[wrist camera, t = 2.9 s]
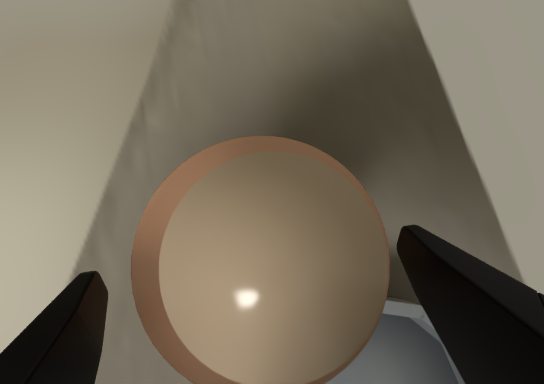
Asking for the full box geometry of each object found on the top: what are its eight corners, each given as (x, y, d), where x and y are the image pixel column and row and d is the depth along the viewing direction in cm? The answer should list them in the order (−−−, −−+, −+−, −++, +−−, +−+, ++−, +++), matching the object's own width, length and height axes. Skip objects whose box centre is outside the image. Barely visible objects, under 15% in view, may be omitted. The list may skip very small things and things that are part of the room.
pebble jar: (321, 287, 17) (508, 365, 5) (214, 332, 16) (155, 550, 4) (280, 183, 18) (365, 55, 6) (176, 221, 17) (38, 154, 5)
